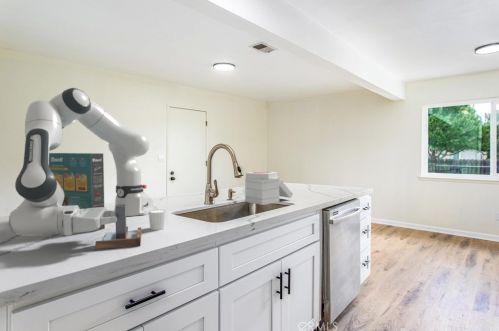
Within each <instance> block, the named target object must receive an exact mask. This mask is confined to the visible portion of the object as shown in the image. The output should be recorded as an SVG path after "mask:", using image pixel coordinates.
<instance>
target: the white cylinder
mask: <svg viewBox="0 0 499 331" xmlns="http://www.w3.org/2000/svg"><path fill="white" fill-rule="evenodd" d="M148 219H149V228H150V230H151V231H162V230H164V229H166V222H167V221H166V220H167V210H166V209H157V210H152V211H149V213H148Z"/></svg>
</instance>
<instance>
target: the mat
mask: <svg viewBox="0 0 499 331" xmlns="http://www.w3.org/2000/svg"><path fill="white" fill-rule="evenodd" d="M137 230H138V229H136V230H135V229H134V230H128V234H127V238H126V239H128V238H137ZM142 231H143V230H142V229H141V232H142ZM104 240H116V231H111V232H106V234H105V235H104V237H103V240H102V241H104ZM134 246H135V247H141V244H140V245H133V247H134ZM122 247H123V248H133V247H132V246H129V247H128V246H122ZM122 247H121V248H120V247H118V248H117V247H116V248H115V247H114V248H113V247H111V248H110V249H109V248H108V249H106V248H102V249H101V248H100V249H101V250H112V248H113V249H123V248H122ZM100 249H99V250H98V251H101V250H100Z"/></svg>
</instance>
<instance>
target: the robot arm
mask: <svg viewBox="0 0 499 331" xmlns="http://www.w3.org/2000/svg"><path fill="white" fill-rule="evenodd" d="M26 110H27V111H26V115H25V121H24V134H25V135H24V136H25V143H24V155H23V165H22V168H21V170H20V172H19V173H18V175H17V177H16V180H15V183H14V187H15V191H16V193H17V194H18V195H19V196H21V198H23V201H22V202H21V203H20V205H19V206H18V207H16V208H15V209H14V210H12V211H11V212H10V213H9V216H8V222H9V227H10V228H11V231H12V232H13V233H15V234H16V235H18V236H24V237H25V236H26V237H33V236H34V237H37V236H46V235H51V234H57V235H64V236H73V235H74V234H78V233H85V232H86V233H87V231H93V230H97V229H99V227H100V226H101V225H108V224H114V223H115V224H116V222H117V216H116V214H115V209H114V210H112V209H111V210H109V209H107V207H105V206H104V207H97V208H87V209H79V206H78V205H72V206H62V204H63V201H64V192H63V189H62V188H61V186H60V185H59V183H58V182H57V180H56V178H55V176H54V174H53V173H52V171H51V170H50V168H49V153H50V151H53V150H55V149H58V148H59V147H60V146H61V144H62V139H63V129H64V128H66V126H69V125H71V124H73V123H74V122H76V121H78V122H79V123H80V124H81V125H83V126H84V127H85V128H86V129H88V130H89V131H90V132H92V134H94V135H95V136H96V137H98V138H99V139H101V140H102V141H105V142H107V143H108V150H109V151H110V153H111V155H112V157H113V161H114V165H115V170H116V172H115V173H116V185H115V193H116V195H115V201H114V208H115V207H116V205H122V204H126V217H131V216H132V217H133V216H134V217H135V216H146V215H149V211H152V210H159V209H158V207H157V206H154V202H153V198H152V197H150V195H148V194H147V193H146V192H144V190H145V189H146V190H147V187H148V186H147V184H142V170H141V167H140V166H139V164H138V161H137V158H138V157H141V156H144V155H145V154H147V153H148V152H149V149H150V143H149V140H148V138H147V137H145V136H144V135H142V134H139V133H137V132H136V131H134V130H132V128H129V127H128V126H126V125H125V124H123V123H121V122H120V121H119V120H117V119H116V118H114V117H113V115H111V114H110V113H109V112H108V111H107V110H105V109H104V108H103V107H102V106H100V105H99V104H97V102H95V101H94V100H92V99H90V98H89V96H88V94H86V92H85V91H83V90H81V89H79V88H77V87H70V88H67V89H64V90H63V91H62V92H61V93H58V94H57V95H55V96H54V97H52V98H51V100H49V101H48V100H43V99H41V100H35V101H32V102H31V103H30V104H29V105H28V107H27V109H26Z"/></svg>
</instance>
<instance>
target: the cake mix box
mask: <svg viewBox="0 0 499 331" xmlns="http://www.w3.org/2000/svg"><path fill="white" fill-rule="evenodd" d="M49 168H50V170H51V171H52V173H53V174H54V176H55V178H56V180H57V182H58V183H59V185H60V186H61V188H62V189H63V192H64V201H63V204H62V206H72V205H78V206H79V209H87V208H97V207H105V178H104V176H105V175H104V171H105V170H104V169H105V168H104V153H98V152H97V153H95V152H93V153H92V152H87V153H86V152H84V153H83V152H79V153H78V152H54V153H53V152H49ZM105 225H106V224H105ZM105 225H101V226H100V227H99V229H97V230H93V231H87V232H89V233H94V232H97V231H100V230H103V229H106V228H105V227H106V226H105ZM87 232H86V233H87Z"/></svg>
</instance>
